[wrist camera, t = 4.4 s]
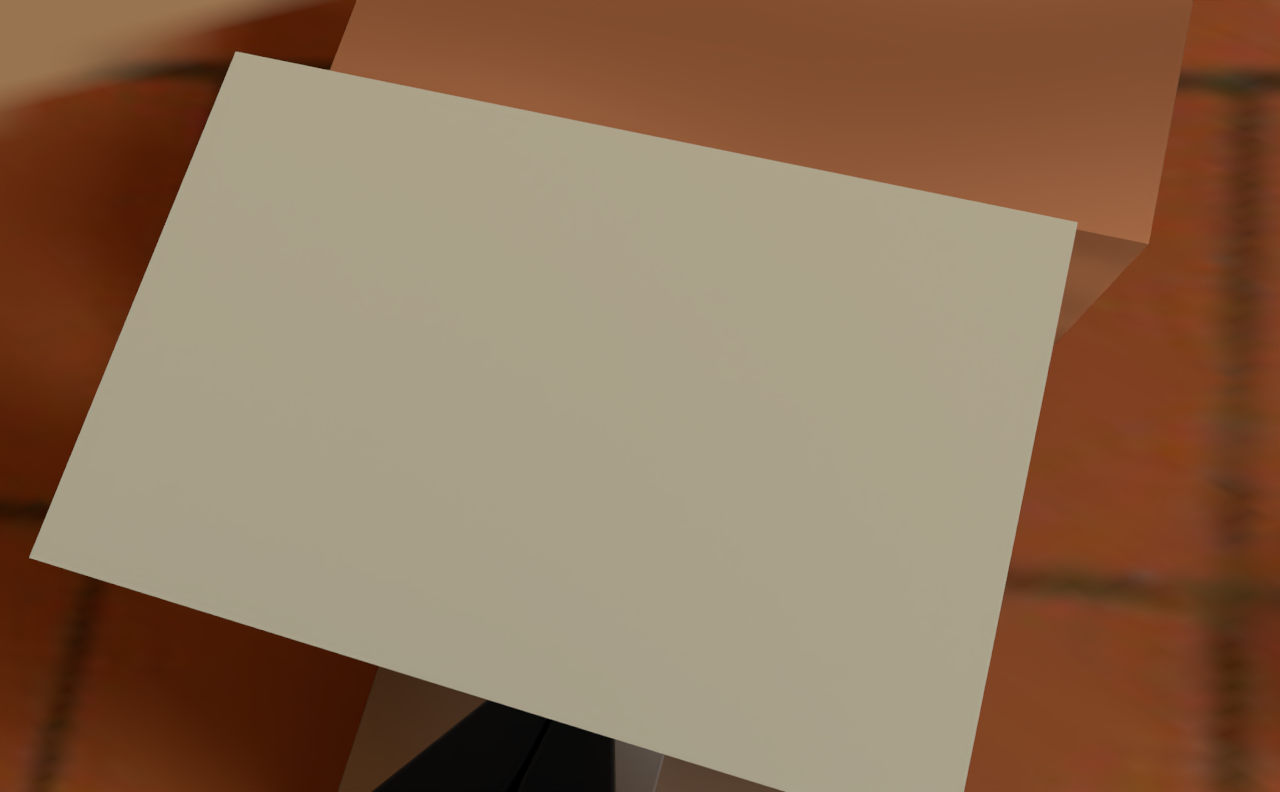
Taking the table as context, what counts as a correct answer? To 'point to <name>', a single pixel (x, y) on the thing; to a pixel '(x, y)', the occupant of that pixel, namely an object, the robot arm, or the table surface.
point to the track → (808, 150)
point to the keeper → (580, 424)
